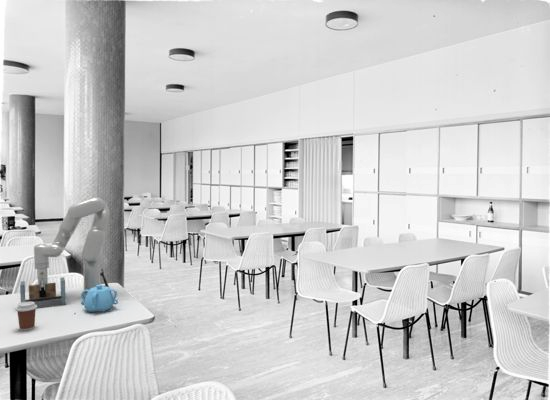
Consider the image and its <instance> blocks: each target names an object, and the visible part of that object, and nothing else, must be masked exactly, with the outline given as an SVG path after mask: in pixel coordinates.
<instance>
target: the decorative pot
mask: <svg viewBox="0 0 550 400" xmlns="http://www.w3.org/2000/svg"><path fill="white" fill-rule="evenodd" d="M84 292H88V293H87V295H86V298H85V297H84ZM113 292H114V294H113ZM117 293H118V291H117V290H116V289H114V288H110V287H105V285H103V284H101V285H96V287H93V288H91V289H90V290H84V289H83V291H82V292H81V294H80V295H82V300H81V302H80V305H81V306H84V309H85V310H86V311H87V312H89V313H94V312H101V313H105V312H107V310H109V309H112V307H113V306H114V305H118V303H119V301H118V299H117V295H118V294H117Z"/></svg>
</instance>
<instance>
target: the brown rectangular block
mask: <svg viewBox="0 0 550 400" xmlns="http://www.w3.org/2000/svg"><path fill="white" fill-rule="evenodd" d="M40 285H41V284H40ZM56 287H57V286H56V282H48V285H45V290H46V297H54V296H57V289H56ZM39 291H40V286H39V285H38V283H37V284H29V285H28V297H29V298H28V299H36V298H45V297H40V292H39Z"/></svg>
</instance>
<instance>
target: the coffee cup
mask: <svg viewBox="0 0 550 400" xmlns="http://www.w3.org/2000/svg"><path fill="white" fill-rule="evenodd" d="M36 308H37V305H35V303H34V302H23V303H21V302H20V303H18V304H17V306H16V307H15V312H17V318H18V327H19V331H29V330H33V329H35V326H36V325H35V324H36V310H37V309H38V308H37V309H36Z"/></svg>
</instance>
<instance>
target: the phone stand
mask: <svg viewBox="0 0 550 400" xmlns="http://www.w3.org/2000/svg"><path fill="white" fill-rule="evenodd" d="M100 271H102V272H100V277H102V280H103V283H104V286H105V287H109V283H108V281H107V278H106V276H105V275H104V273H105V271H104V269H103V268H100ZM109 288H110V287H109Z"/></svg>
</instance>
